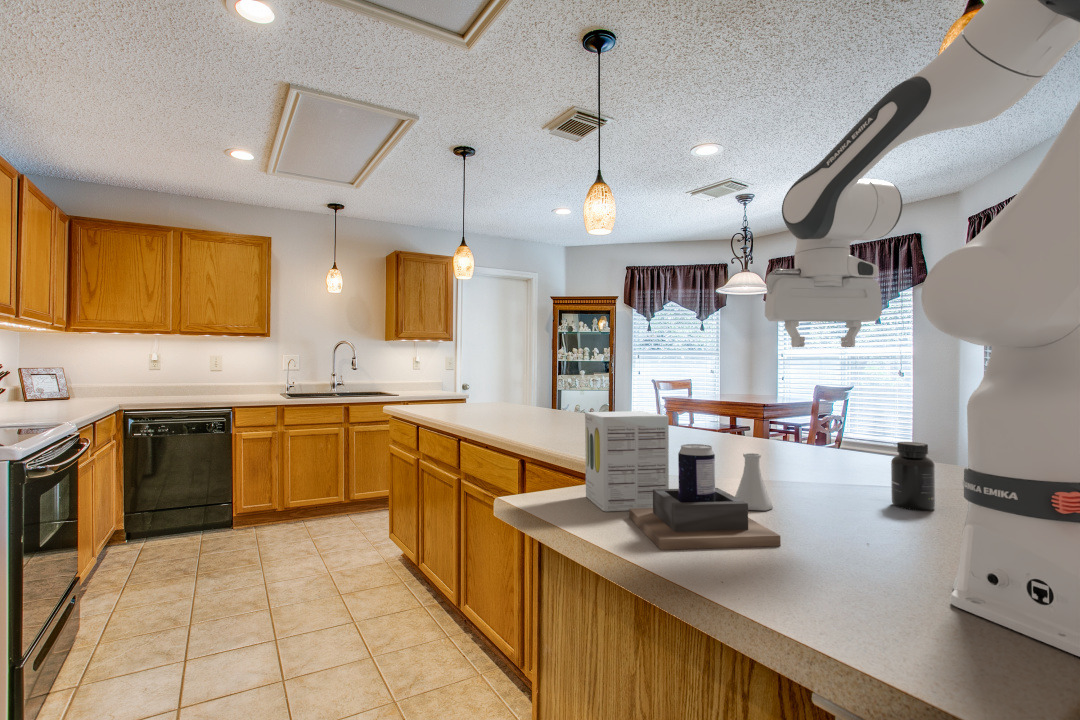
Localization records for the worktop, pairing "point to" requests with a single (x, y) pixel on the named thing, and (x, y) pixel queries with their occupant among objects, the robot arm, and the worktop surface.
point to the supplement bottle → (913, 477)
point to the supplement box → (625, 458)
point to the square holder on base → (701, 523)
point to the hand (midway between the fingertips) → (823, 347)
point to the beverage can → (696, 473)
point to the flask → (753, 485)
